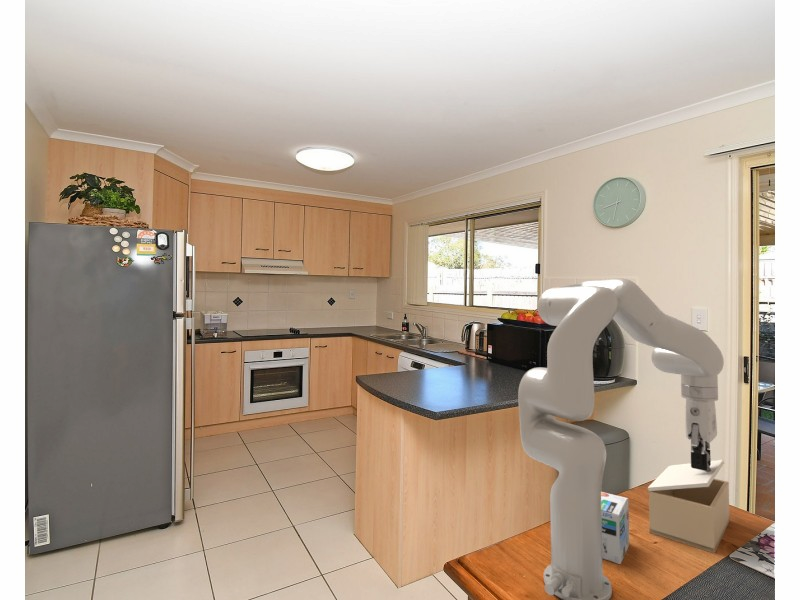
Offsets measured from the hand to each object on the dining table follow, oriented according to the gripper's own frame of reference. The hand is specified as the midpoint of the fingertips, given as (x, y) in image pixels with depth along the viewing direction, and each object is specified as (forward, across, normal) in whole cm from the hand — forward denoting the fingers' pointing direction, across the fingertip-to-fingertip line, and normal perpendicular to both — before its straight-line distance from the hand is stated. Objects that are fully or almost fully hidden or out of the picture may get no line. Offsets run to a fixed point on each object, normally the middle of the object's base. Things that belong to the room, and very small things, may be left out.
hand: (700, 466), depth 108 cm
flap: (+3, 0, +3) cm, 4 cm away
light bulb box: (+16, -24, +13) cm, 32 cm away
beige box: (+16, 0, +2) cm, 16 cm away
